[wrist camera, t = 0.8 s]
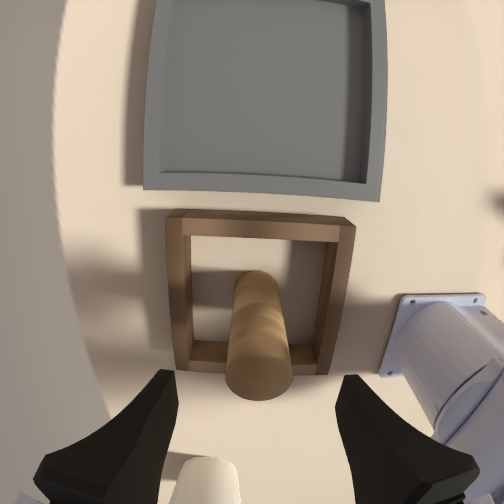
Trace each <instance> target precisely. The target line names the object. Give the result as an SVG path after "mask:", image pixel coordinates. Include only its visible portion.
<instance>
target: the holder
mask: <svg viewBox="0 0 504 504" xmlns="http://www.w3.org/2000/svg"><path fill="white" fill-rule="evenodd" d="M355 233H356V226H355V225H353V224H352V223H351V222H350V221H349V220H347V219H346V218H345V217H334V216H320V215H305V214H288V213H270V212H250V211H226V210H198V209H175V210H174V211H172V212H171V213H170V214H169V215H168V216H167V217H166V251H167V272H168V289H169V303H170V316H171V327H172V338H173V348H174V357H175V366H176V370H185V371H196V372H209V373H224V374H226V366H227V357H228V347H229V343H227V342H210V341H196V340H194V332H193V311H192V284H191V235H195V236H219V237H242V238H264V239H284V240H304V241H323V242H327V247H326V255H325V262H324V270H323V277H322V284H321V290H320V297H319V303H318V310H317V316H316V322H315V328H314V334H313V339H312V345H288V347H289V353H290V359H291V365H292V371H293V375H328V373H329V369H330V365H331V361H332V356H333V352H334V348H335V343H336V339H337V334H338V330H339V325H340V320H341V315H342V310H343V305H344V300H345V295H346V289H347V284H348V278H349V272H350V266H351V260H352V253H353V247H354V240H355Z"/></svg>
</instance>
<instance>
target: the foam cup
mask: <svg viewBox="0 0 504 504" xmlns="http://www.w3.org/2000/svg"><path fill="white" fill-rule="evenodd" d="M169 504H241V498H240V491H239V484H238V476H237V470H236V467H235V466H234V465H232V464H231V463H230V462H228V461H225V460H222V459H220V458H214V457H208V456H203V457H193V458H190V459H188V460H186V461H185V463H184V464H183V467H182V469H181V471H180V474H179V477H178V480H177V482H176V485H175V488H174V491H173V493H172V496H171V499H170V502H169Z"/></svg>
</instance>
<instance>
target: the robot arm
mask: <svg viewBox="0 0 504 504" xmlns="http://www.w3.org/2000/svg"><path fill="white" fill-rule="evenodd" d="M412 300H413V302H412V303H410V302H411V301H412ZM473 300H474V301H473ZM485 301H486V296H485V295H484V294H482V293H481V294H446V295H405V296H403V297H402V298H401V300H400V304H399V307H398V311H397V315H396V318H395V322H394V325H393V329H392V332H391V336H390V339H389V342H388V345H387V348H386V352H385V355H384V358H383V361H382V364H381V367H380V369H379V376H380V377H381V378H386V377H395V376H404V377H405V378H406V380H407V382H408V384H409V385H410V387H411V389H412V391H413V393H414V394H415V396H416V398H417V400H418V402H419V403H420V405H421V407H422V409H423V411H424V412H425V414H426V416H427V418H428V420H429V422H430V424H431V426H432V427H433V429H434V434H433V435H432V437H431V438H430V437H428V436H426V435H425V434H423V433H421V432H420V431H418V430H417V429H415V428H414V427H413V426H411V425H410V424H409V423H407V422H406V421H405V420H403V419H402V418H401V417H400V416H399V415H397V414H396V413H395V412H394V411H393V410H392V409H391V408H390V407H389V406H388V405H386V404H385V403H384V402H383V401H382V400H381V399H380V398H379V397H378V395H377V394H376V393H375V392H374V391H373V390H372V389H371V388H370V387H369V386H368V385H367V384H366V383H365V382H364V381H363V379H362V378H361V377H360V376H359V375H358V374H354V375H344V379H343V382H342V385H341V389H340V392H339V395H338V398H337V402H336V405H335V411H336V418H337V424H338V428H339V432H340V435H341V438H342V442H343V445H344V448H345V452H346V455H347V458H348V462H349V465H350V469H351V474H352V480H353V486H354V494H355V502H356V504H504V323H503V322H502V321H501V320H499V319H498V318H497V317H496V316H495V315H494V314H493V313H491V312H490V311H489V310H488V309H487V308H486V307H484V304H485ZM389 371H390V372H389ZM388 372H389V373H388ZM178 405H179V402H178V395H177V388H176V381H175V373H174V371H172V370H163V369H160V370H159V371H158V372H157V373H156V374H155V376H154V377H153V378H152V379H151V380H150V382H149V383H148V384H147V385H146V386H145V387H144V389H143V390H142V391H141V392H140V393H139V394H138V395H137V396H136V397H135V398H134V399H133V401H132V402H131V403H129V404H128V405H127V406H126V407H125V408H124V409H123V410H122V411H121V412H120V413H119V414H118V415H117V416H115V417H114V418H113V419H112V420H111V421H109V422H108V423H107V424H105V425H104V426H103V427H101V428H100V429H98V430H97V431H95V432H94V433H92V434H91V435H89V436H87V437H86V438H84V439H82V440H80V441H78V442H76V443H74V444H72V445H70V446H68V447H66V448H63V449H61V450H58V451H55V452H53V453H50V454H47V455H45V457H44V458H43V460H42V461H41V464H40V465H39V468H38V469H37V472H36V474H35V476H34V478H33V480H34V483H35V485H36V486H37V487H38V488H39V490H41V492H42V493H43V494H44V495H45V496H46V497H47V498H48V499H49V500H50V504H157V502H158V494H159V487H160V480H161V474H162V469H163V464H164V461H165V457H166V454H167V450H168V447H169V444H170V440H171V437H172V434H173V430H174V427H175V423H176V417H177V411H178ZM14 504H44V503H42V502H40V501H38V500H36V499H34V498H32V497H29V496H28V495H26V494H24V493H22V492H20V493H19V494H18V496H17V498H16V501H15V502H14Z"/></svg>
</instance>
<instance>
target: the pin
mask: <svg viewBox="0 0 504 504" xmlns="http://www.w3.org/2000/svg"><path fill="white" fill-rule="evenodd" d="M292 380H293V371H292V365H291V359H290V353H289V347H288V342H287V336H286V330H285V324H284V319H283V313H282V307H281V302H280V296H279V291H278V286H277V283H276V281H275V279H274V278H273V277H272V276H271V275H269V274H268V273H266V272H263V271H250V272H247V273H245V274H243V275H242V276H241V277H240V278H239V279H238V281H237V282H236V285H235V291H234V300H233V309H232V318H231V328H230V337H229V347H228V357H227V366H226V383H227V385H228V387H229V388H230V390H231V391H232V392H233V393H235V394H236V395H238V396H240V397H242V398H244V399H248V400H253V401H264V400H269V399H273V398H275V397H278V396H280V395H281V394H283V393H284V392H285V391H286V390H287V389H288V388H289V387H290V385H291V383H292Z"/></svg>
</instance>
